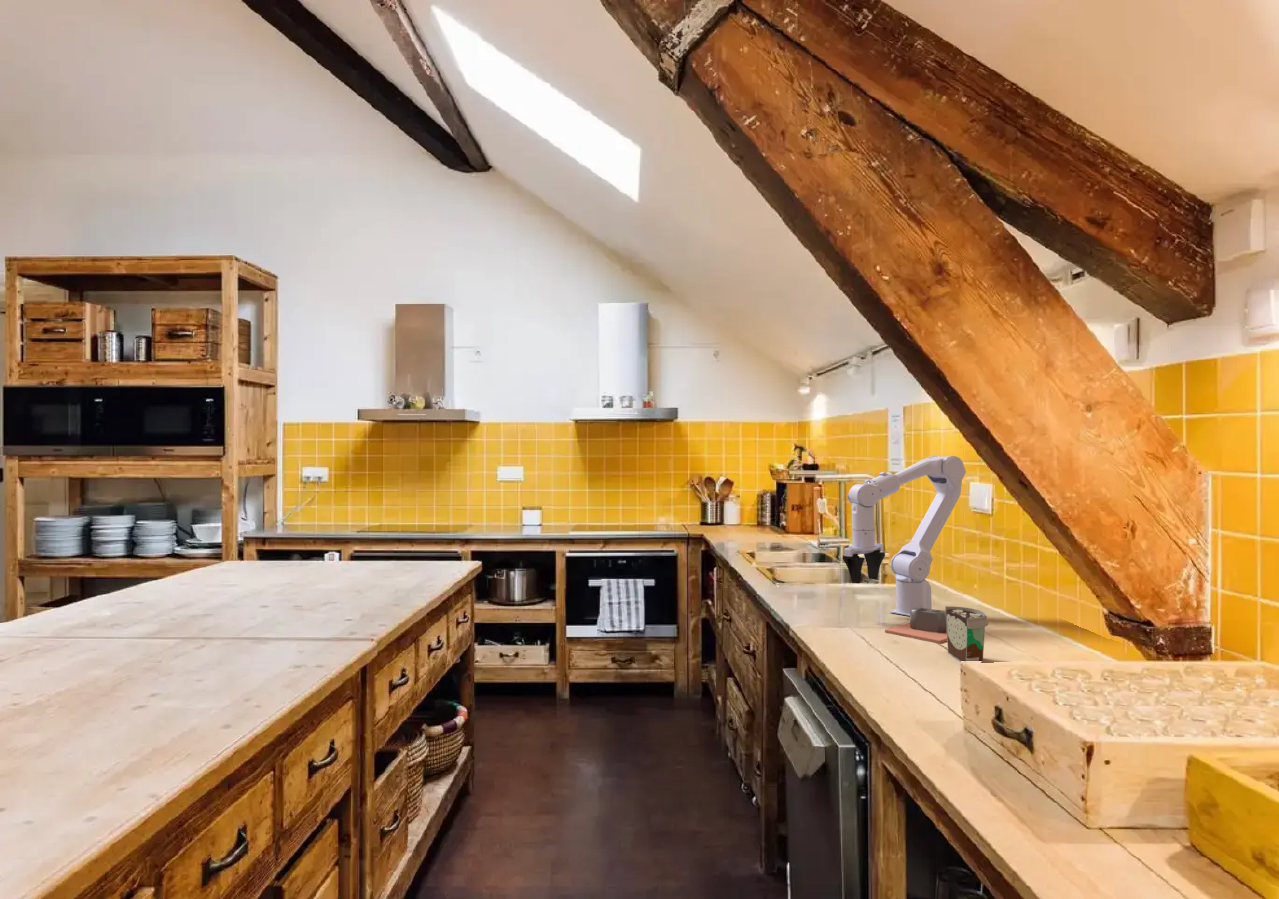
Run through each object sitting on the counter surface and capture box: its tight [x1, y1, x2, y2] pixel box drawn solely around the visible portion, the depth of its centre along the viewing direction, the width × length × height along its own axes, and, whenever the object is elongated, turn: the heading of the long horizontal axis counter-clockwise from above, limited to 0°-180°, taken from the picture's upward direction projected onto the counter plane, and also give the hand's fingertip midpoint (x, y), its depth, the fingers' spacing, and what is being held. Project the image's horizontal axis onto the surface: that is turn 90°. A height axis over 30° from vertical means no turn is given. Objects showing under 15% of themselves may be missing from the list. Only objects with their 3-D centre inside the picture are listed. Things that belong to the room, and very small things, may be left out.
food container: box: [944, 605, 989, 663], centre depth 155 cm, size 12×6×10 cm, turn 179°
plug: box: [909, 608, 947, 633], centre depth 178 cm, size 4×10×4 cm, turn 52°
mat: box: [884, 622, 947, 644], centre depth 178 cm, size 16×14×1 cm
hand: (864, 581), depth 196 cm, fingers open, 7 cm apart
